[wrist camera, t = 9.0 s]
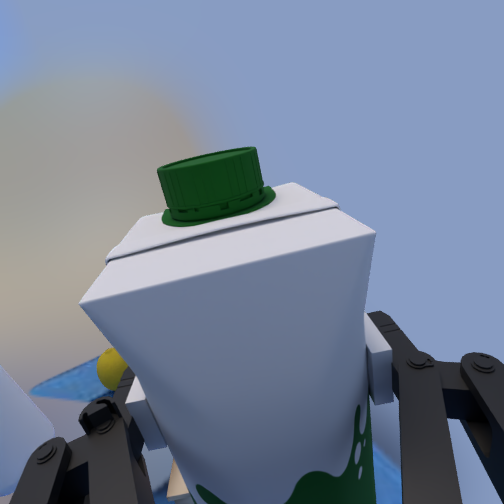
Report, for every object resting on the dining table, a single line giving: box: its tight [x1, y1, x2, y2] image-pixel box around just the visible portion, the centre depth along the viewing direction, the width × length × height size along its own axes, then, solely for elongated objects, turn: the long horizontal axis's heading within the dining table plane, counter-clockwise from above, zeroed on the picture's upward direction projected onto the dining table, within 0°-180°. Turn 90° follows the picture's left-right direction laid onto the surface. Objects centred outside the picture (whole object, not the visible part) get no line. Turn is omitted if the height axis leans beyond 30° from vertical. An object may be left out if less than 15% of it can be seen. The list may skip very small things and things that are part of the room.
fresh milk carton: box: [79, 147, 376, 504], centre depth 14 cm, size 9×9×20 cm
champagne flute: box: [0, 365, 55, 497], centre depth 28 cm, size 7×7×24 cm
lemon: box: [97, 348, 128, 391], centre depth 49 cm, size 6×6×8 cm
